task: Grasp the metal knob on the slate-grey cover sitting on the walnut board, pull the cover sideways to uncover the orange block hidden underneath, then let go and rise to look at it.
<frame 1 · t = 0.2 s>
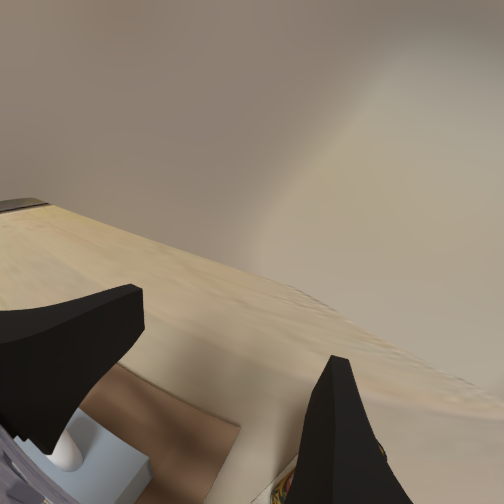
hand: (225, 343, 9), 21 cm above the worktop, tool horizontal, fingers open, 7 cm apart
condiment: (303, 495, 19), on the worktop
board: (111, 452, 19), on the worktop
cover: (70, 461, 12), point 6 cm above the worktop, slide at 0.0 cm
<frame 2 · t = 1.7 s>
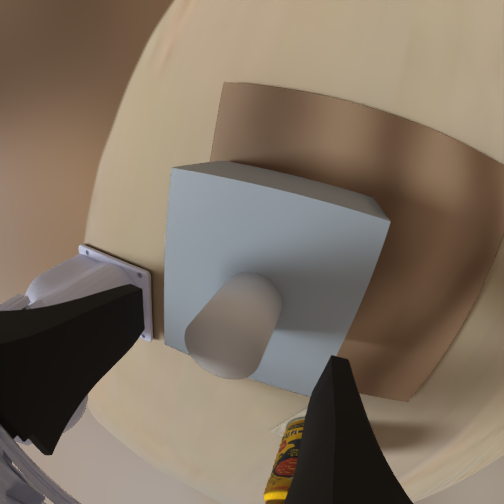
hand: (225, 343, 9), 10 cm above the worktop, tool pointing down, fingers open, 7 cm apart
condiment: (319, 432, 24), on the worktop
board: (347, 268, 17), on the worktop
cover: (257, 290, 13), point 6 cm above the worktop, slide at 0.0 cm
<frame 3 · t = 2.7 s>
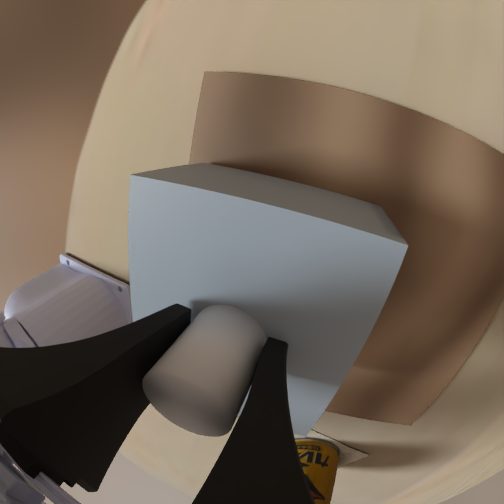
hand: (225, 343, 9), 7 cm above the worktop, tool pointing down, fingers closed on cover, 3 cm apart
condiment: (315, 451, 22), on the worktop
board: (349, 287, 15), on the worktop
cover: (239, 321, 11), point 6 cm above the worktop, slide at 0.0 cm, touching gripper
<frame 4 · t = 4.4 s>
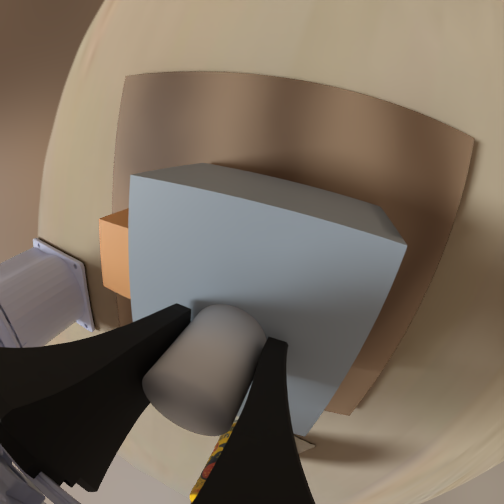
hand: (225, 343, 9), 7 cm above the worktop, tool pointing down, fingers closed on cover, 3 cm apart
block: (169, 240, 16), point 1 cm above the worktop, touching board
condiment: (261, 437, 23), on the worktop
board: (251, 259, 16), on the worktop
cover: (238, 321, 11), point 6 cm above the worktop, slide at 5.8 cm, touching gripper
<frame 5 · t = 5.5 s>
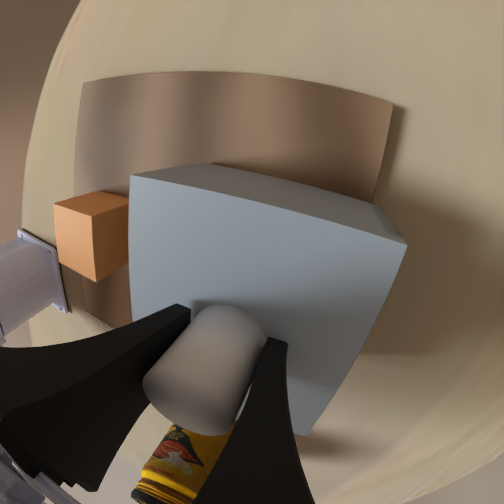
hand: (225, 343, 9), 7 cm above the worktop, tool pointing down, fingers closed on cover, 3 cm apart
block: (115, 223, 17), point 1 cm above the worktop, touching board
condiment: (218, 422, 24), on the worktop
board: (181, 238, 17), on the worktop
cover: (239, 321, 11), point 6 cm above the worktop, slide at 10.4 cm, touching gripper
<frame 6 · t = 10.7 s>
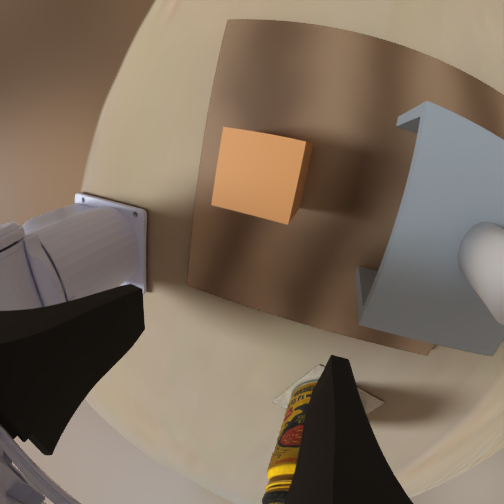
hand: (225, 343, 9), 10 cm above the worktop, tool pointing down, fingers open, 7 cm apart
block: (274, 168, 16), point 1 cm above the worktop, touching board
condiment: (328, 401, 23), on the worktop
board: (354, 188, 16), on the worktop
cover: (473, 245, 10), point 6 cm above the worktop, slide at 10.5 cm
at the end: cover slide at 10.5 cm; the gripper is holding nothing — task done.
